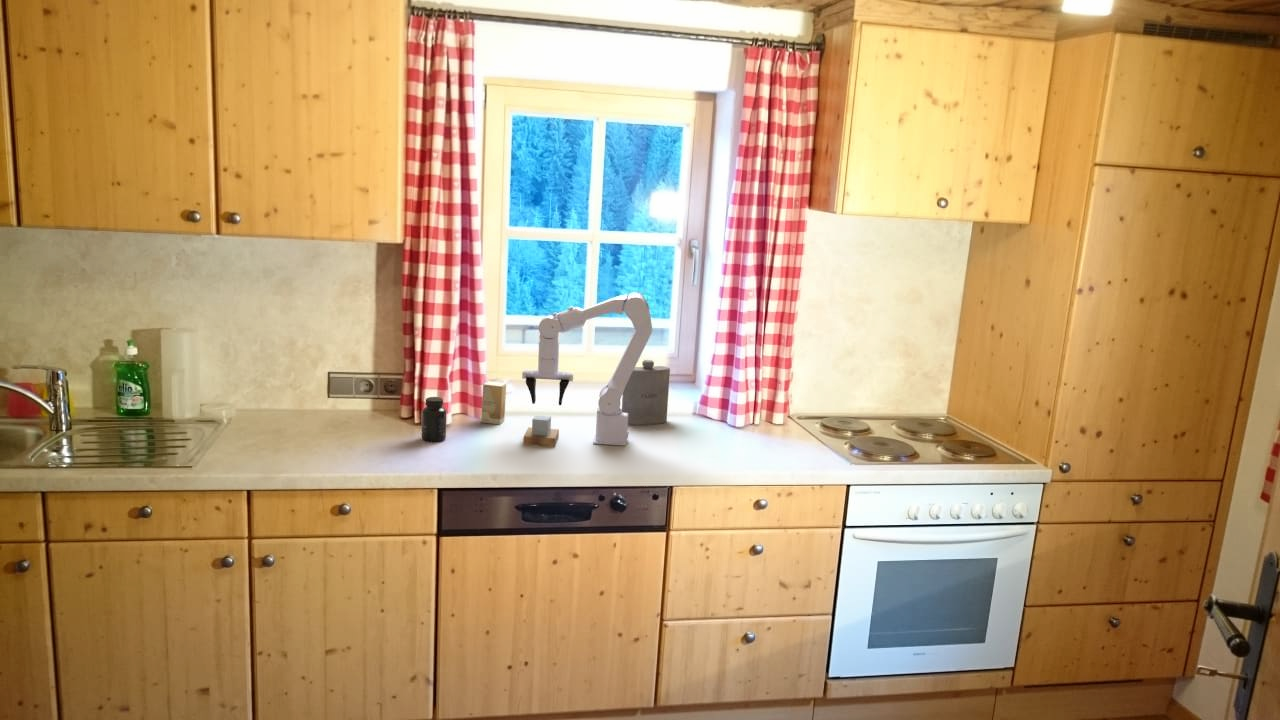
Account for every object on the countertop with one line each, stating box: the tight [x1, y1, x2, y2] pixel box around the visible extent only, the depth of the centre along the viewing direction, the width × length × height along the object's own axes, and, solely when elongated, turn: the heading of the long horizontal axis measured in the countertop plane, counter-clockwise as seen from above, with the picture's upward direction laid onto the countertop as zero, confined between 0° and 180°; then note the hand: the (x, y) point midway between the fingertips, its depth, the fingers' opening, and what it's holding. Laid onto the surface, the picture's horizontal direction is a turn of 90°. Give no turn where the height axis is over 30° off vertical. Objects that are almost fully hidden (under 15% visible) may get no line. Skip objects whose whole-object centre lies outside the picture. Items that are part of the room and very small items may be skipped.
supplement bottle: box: [421, 396, 447, 444], centre depth 265 cm, size 7×7×12 cm
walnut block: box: [523, 427, 560, 448], centre depth 270 cm, size 9×9×3 cm
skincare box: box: [480, 380, 507, 425], centre depth 285 cm, size 6×4×12 cm
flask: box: [621, 359, 671, 426], centre depth 293 cm, size 15×6×20 cm, turn 110°
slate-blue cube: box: [531, 415, 552, 436], centre depth 269 cm, size 4×4×4 cm
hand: (546, 403), depth 271 cm, fingers open, 7 cm apart
